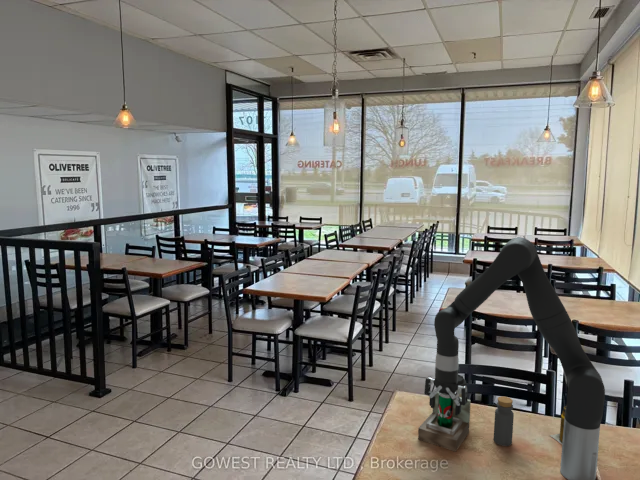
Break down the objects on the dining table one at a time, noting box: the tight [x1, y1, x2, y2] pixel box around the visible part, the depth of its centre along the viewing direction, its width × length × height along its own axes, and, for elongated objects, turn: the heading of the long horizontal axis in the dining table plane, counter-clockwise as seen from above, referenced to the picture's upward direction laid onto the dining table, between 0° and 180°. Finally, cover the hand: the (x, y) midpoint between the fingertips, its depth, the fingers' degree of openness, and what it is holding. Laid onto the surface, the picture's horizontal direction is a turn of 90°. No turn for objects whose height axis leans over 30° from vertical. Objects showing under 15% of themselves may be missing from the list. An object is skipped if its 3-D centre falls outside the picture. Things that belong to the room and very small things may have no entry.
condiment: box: [549, 405, 567, 445], centre depth 159 cm, size 7×8×12 cm
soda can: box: [437, 392, 454, 428], centre depth 161 cm, size 5×5×12 cm
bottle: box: [493, 395, 515, 447], centre depth 158 cm, size 6×6×15 cm
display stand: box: [417, 392, 472, 452], centre depth 161 cm, size 13×14×12 cm
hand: (444, 410), depth 161 cm, fingers open, 8 cm apart
